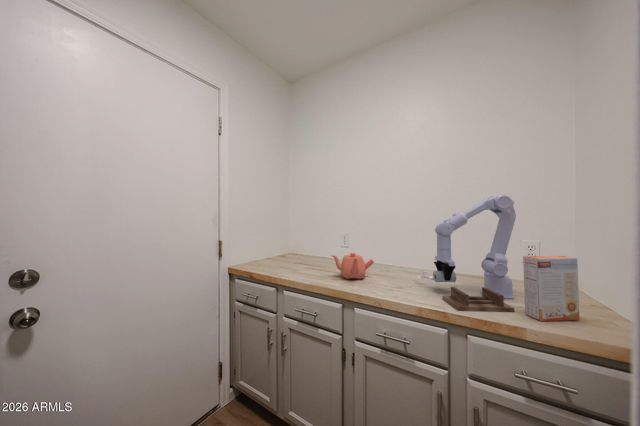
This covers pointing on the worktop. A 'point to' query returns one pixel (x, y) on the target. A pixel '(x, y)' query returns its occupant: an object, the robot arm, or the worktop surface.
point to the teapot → (353, 266)
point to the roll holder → (477, 301)
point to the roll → (439, 276)
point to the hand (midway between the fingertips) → (444, 278)
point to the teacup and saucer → (425, 275)
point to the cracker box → (551, 288)
